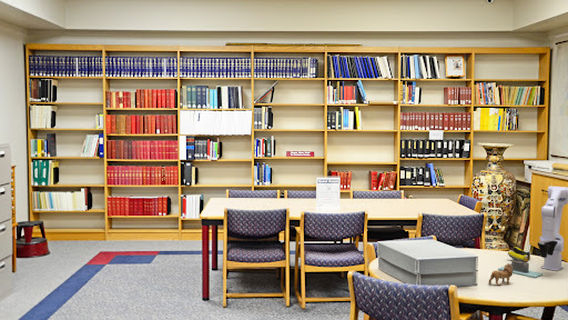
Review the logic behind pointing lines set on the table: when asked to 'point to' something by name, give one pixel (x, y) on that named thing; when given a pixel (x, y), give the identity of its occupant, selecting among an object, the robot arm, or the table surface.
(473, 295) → the table surface
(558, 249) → the robot arm
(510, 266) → the lion figurine
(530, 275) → the desk mat
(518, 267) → the connector
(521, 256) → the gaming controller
